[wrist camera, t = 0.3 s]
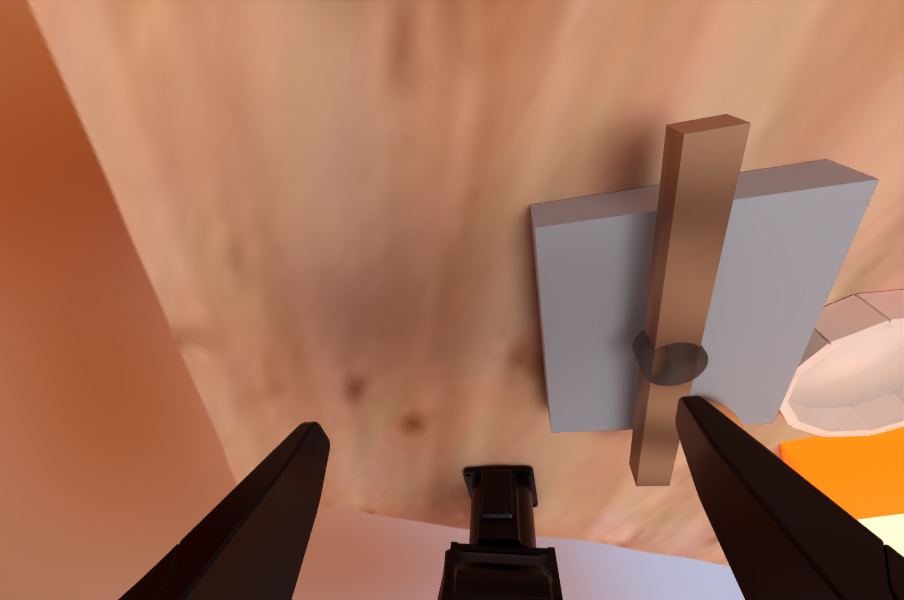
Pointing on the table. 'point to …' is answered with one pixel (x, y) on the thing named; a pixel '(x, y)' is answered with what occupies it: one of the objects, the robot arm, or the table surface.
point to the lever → (682, 281)
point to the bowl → (851, 369)
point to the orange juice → (858, 477)
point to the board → (732, 303)
